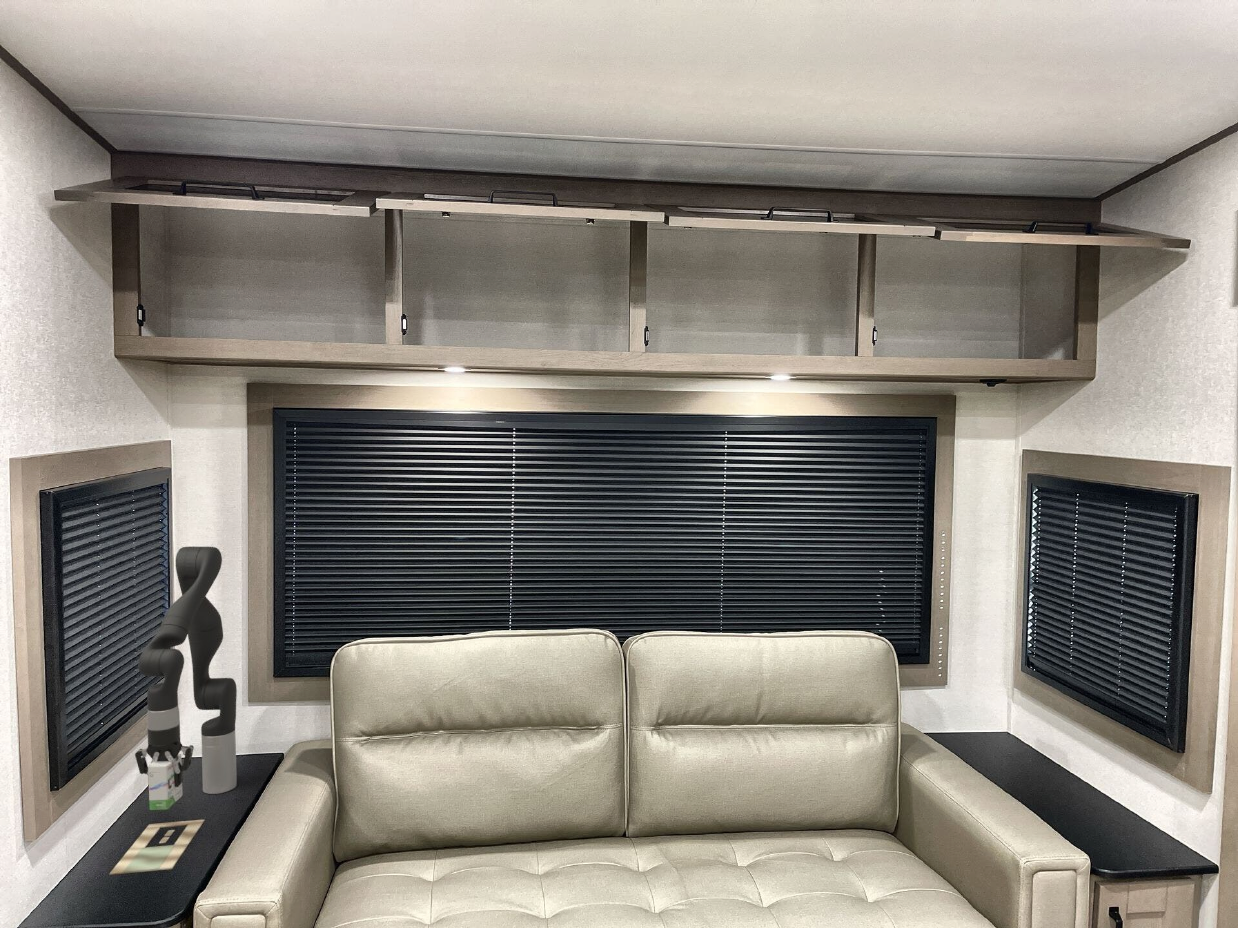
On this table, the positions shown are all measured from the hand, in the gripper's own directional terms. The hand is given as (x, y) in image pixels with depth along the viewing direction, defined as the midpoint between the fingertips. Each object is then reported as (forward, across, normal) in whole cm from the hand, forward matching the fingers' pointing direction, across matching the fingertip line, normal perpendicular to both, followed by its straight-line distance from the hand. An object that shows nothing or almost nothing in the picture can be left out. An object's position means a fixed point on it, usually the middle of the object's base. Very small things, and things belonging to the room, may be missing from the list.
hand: (165, 786), depth 221 cm
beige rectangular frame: (+13, 0, +6) cm, 15 cm away
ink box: (+5, 0, 0) cm, 5 cm away
